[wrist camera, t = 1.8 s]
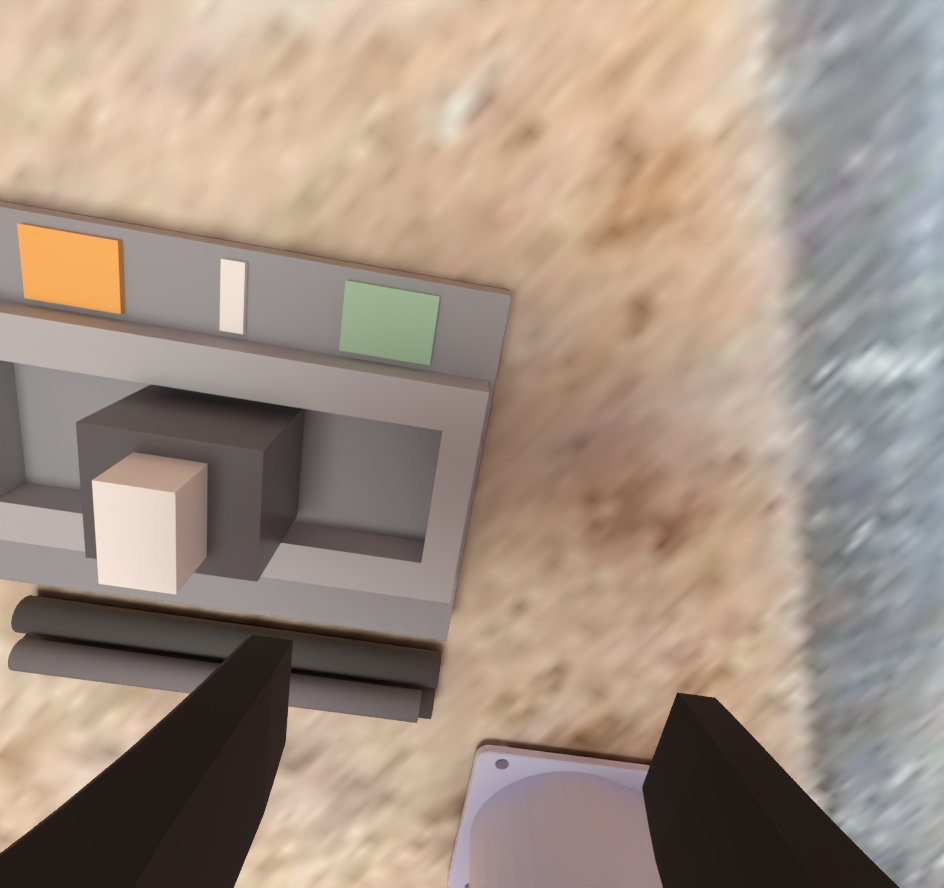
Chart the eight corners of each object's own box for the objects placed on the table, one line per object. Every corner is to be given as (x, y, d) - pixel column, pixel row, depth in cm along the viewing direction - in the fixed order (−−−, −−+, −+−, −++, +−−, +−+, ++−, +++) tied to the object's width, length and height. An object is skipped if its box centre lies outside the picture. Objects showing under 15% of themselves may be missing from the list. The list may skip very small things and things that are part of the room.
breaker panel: (507, 289, 16) (514, 301, 14) (448, 611, 20) (444, 667, 18) (-8, 199, 16) (-101, 194, 13) (32, 552, 19) (-35, 602, 17)
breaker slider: (304, 405, 16) (237, 479, 11) (297, 515, 17) (233, 621, 13) (155, 381, 16) (25, 447, 11) (158, 494, 17) (41, 595, 12)
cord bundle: (441, 644, 21) (438, 689, 19) (431, 700, 22) (427, 749, 20) (35, 588, 20) (-14, 629, 18) (42, 649, 21) (-4, 694, 19)
